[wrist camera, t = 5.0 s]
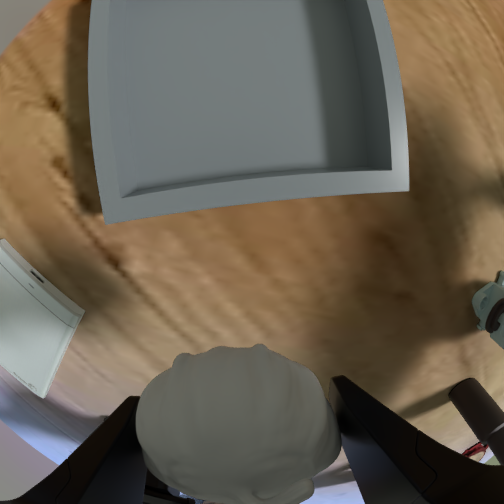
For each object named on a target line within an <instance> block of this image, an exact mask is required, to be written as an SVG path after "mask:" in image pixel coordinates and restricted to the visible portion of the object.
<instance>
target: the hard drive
mask: <svg viewBox="0 0 504 504" xmlns="http://www.w3.org/2000/svg"><path fill="white" fill-rule="evenodd" d="M84 313H85V310H83V309H82V308H81V307H79V306H78V305H77V304H76V303H74V302H73V301H72V300H71V299H69V298H68V297H67V296H66V295H64V294H63V293H62V292H61V291H60V290H58V289H57V288H56V287H55V286H54V285H53V284H51V283H50V282H49V281H48V280H47V279H46V278H45V277H44V276H42V275H41V274H40V273H39V272H38V271H37V270H36V269H35V268H34V267H32V266H31V265H30V264H29V263H28V262H27V261H26V260H25V259H24V258H23V257H22V256H21V255H20V254H19V253H18V252H17V251H16V250H15V249H14V248H13V247H12V246H11V245H10V244H9V243H8V242H7V241H6V240H5V239H1V240H0V365H1V366H2V367H3V368H5V369H6V370H7V371H8V372H9V373H10V374H11V375H13V376H14V377H15V378H16V379H17V380H19V381H20V382H21V383H22V384H23V385H25V386H26V387H27V388H28V389H30V390H31V391H32V392H33V393H35V394H36V395H37V396H39V397H41V398H45V396H46V395H47V393H48V391H49V389H50V386H51V384H52V381H53V379H54V377H55V374H56V372H57V370H58V367H59V365H60V363H61V360H62V358H63V356H64V354H65V352H66V349H67V347H68V345H69V343H70V341H71V339H72V337H73V335H74V333H75V331H76V328H77V326H78V324H79V322H80V321H81V319H82V317H83V315H84Z"/></svg>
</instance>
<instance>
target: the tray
mask: <svg viewBox="0 0 504 504" xmlns="http://www.w3.org/2000/svg"><path fill="white" fill-rule="evenodd" d="M88 94H89V113H90V126H91V137H92V146H93V155H94V163H95V170H96V176H97V183H98V189H99V195H100V200H101V206H102V211H103V216H104V221H105V225H107V224H112V223H118V222H124V221H130V220H136V219H142V218H148V217H154V216H161V215H167V214H174V213H181V212H188V211H195V210H202V209H209V208H217V207H225V206H233V205H242V204H250V203H259V202H268V201H278V200H288V199H299V198H310V197H322V196H334V195H348V194H363V193H380V192H400V191H409V157H408V139H407V126H406V115H405V106H404V98H403V91H402V84H401V77H400V71H399V66H398V60H397V55H396V50H395V46H394V41H393V37H392V32H391V28H390V24H389V21H388V17H387V13H386V10H385V6H384V3H383V0H92V4H91V13H90V25H89V43H88Z"/></svg>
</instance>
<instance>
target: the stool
mask: <svg viewBox="0 0 504 504" xmlns="http://www.w3.org/2000/svg"><path fill="white" fill-rule="evenodd" d="M499 274H500V276H499V279H498V281H497V283H495V282H490V283H488V284H487V285H485V286H484V287H483V288H481V289H480V290H479V291H477V292H476V293H475V294H474V296H473V298H472V305H473V308H474V311H475V314H476V316H477V317H478V318H480V319H481V320H480V322H479V324H477V328H478V329H479V330H481V331H482V329H483V330H486V331H487V332H489V333H490V337H491V338H492V339H493V340H494V341H495V342H496V343H497V344H498V345H499V346H501V347H502V348H503V349H504V272H503V271H501V272H500V273H499ZM449 398H450V400H451V401H452V403H453V404H454V405H455V407H456V408H457V410H458V411H459V412H460V414H461V415H462V417H463V418H464V419H465V421H466V422H467V424H468V425H469V427H470V428H471V429H472V431H473V432H474V434H475V435H476V437H477V438H478V440H479V441H480V442H481V443H482V444H483V445H486V444H488V446H489V447H490V449H491V450H492V452H493V453H494V455H495V456H496V458H497V460H498V461H499V463H500V464H501V465H504V412H503V411H502V410H501V408H500V407H499V406H498V405H497V404H496V402H495V401H494V400H493V399H492V397H491V396H490V395H489V394H488V393H487V392H486V390H485V389H484V388H483V387H482V386H481V384H480V383H479V382H478V381H477V380H476V379H475V378H471V379H468V380H465V381H463V382H462V383H460V384H459V385H457V386H456V387H455V388H454V389H453V390H452V391H451V393H450V394H449Z"/></svg>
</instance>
